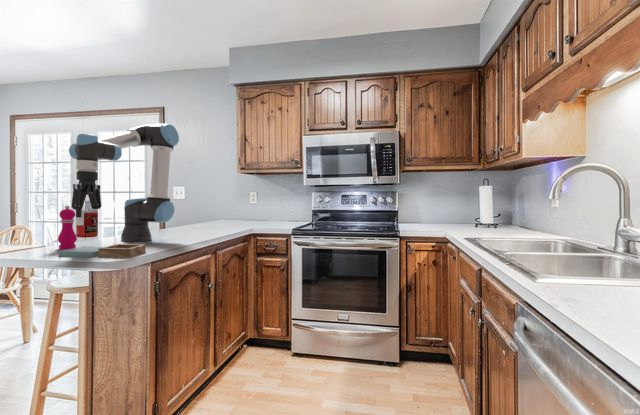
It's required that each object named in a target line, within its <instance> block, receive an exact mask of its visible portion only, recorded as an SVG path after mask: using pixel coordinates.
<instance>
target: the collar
mask: <svg viewBox="0 0 640 415" xmlns="http://www.w3.org/2000/svg"><path fill="white" fill-rule="evenodd" d="M101 247H102V248H99V256H98V257H99V258H100V257H101V258H133V257H136V256H138V255H142V254H146V244H133V243H132V244H127V243H117V244H115V243H114V244H112V245H111V244H110V245H107V246H101Z"/></svg>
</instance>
